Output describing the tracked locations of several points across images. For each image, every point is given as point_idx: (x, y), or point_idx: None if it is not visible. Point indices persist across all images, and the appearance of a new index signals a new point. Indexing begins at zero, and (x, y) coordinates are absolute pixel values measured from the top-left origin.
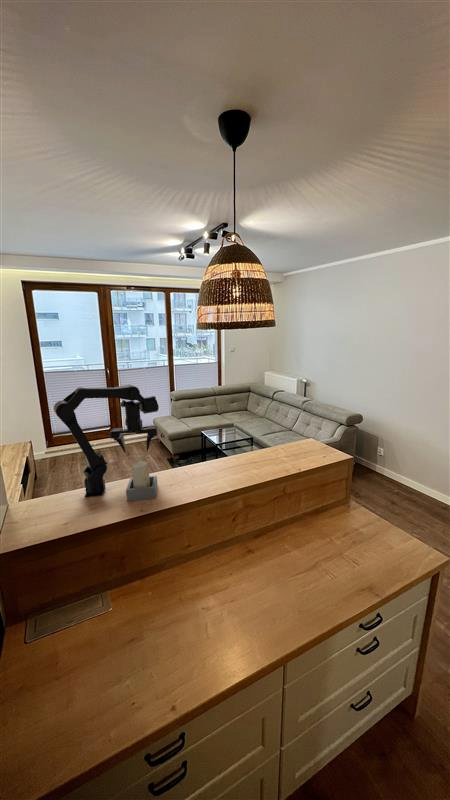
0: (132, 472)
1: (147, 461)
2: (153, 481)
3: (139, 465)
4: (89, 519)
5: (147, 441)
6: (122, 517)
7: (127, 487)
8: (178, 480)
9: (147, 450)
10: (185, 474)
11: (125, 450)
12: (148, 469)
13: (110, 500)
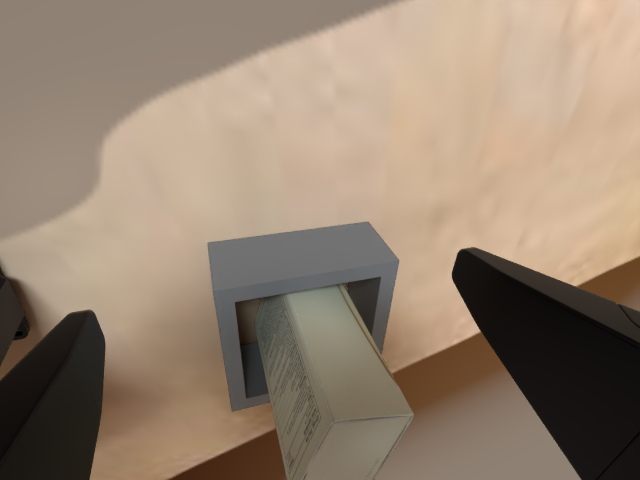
0: (285, 458)
1: (411, 416)
2: (375, 325)
3: (349, 473)
4: (103, 466)
5: (590, 477)
6: (239, 435)
7: (232, 390)
8: (487, 165)
9: (462, 287)
10: (550, 82)
11: (93, 356)
12: (382, 363)
13: (126, 360)
